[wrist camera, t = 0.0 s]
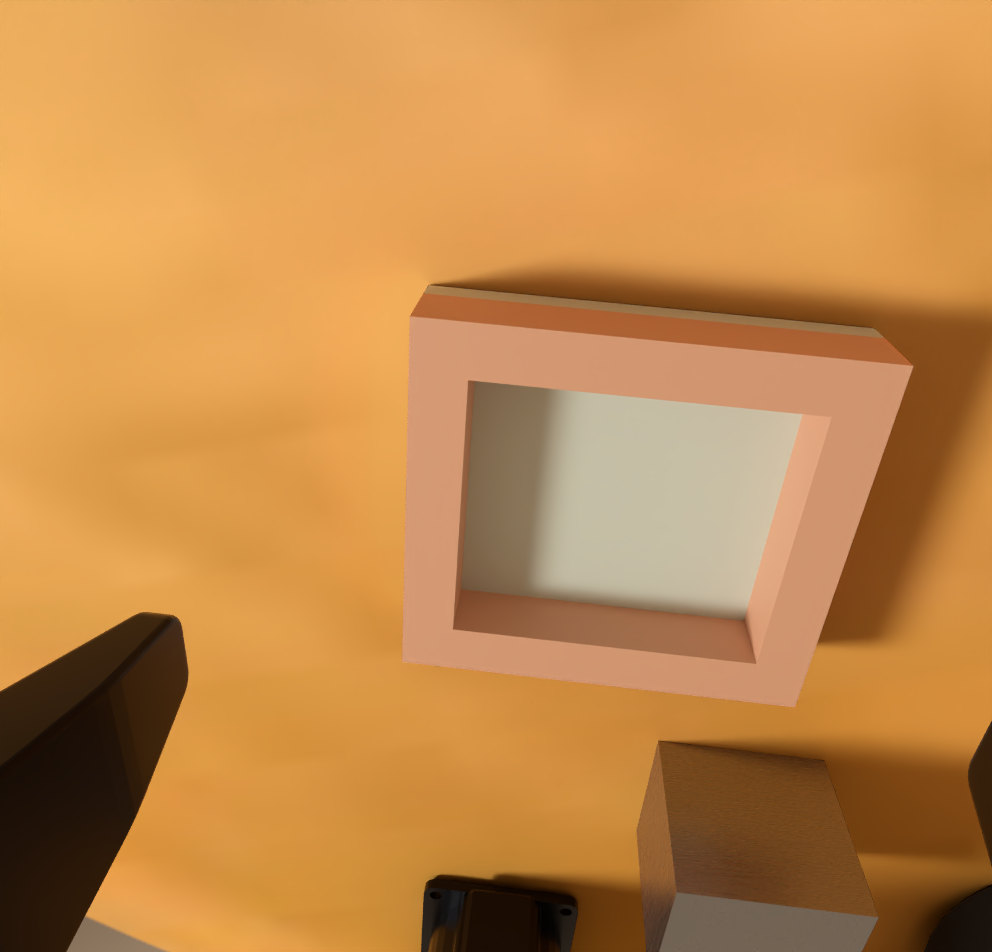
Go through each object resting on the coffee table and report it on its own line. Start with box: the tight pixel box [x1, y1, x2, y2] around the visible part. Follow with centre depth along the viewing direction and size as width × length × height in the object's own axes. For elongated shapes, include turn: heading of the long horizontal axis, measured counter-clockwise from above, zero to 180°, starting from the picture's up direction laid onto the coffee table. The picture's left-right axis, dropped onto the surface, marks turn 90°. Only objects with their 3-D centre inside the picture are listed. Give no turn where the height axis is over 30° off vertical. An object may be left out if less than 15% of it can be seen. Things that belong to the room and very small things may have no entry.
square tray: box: [402, 285, 913, 707], centre depth 23 cm, size 11×12×3 cm
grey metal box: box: [637, 741, 879, 952], centre depth 28 cm, size 5×6×6 cm
